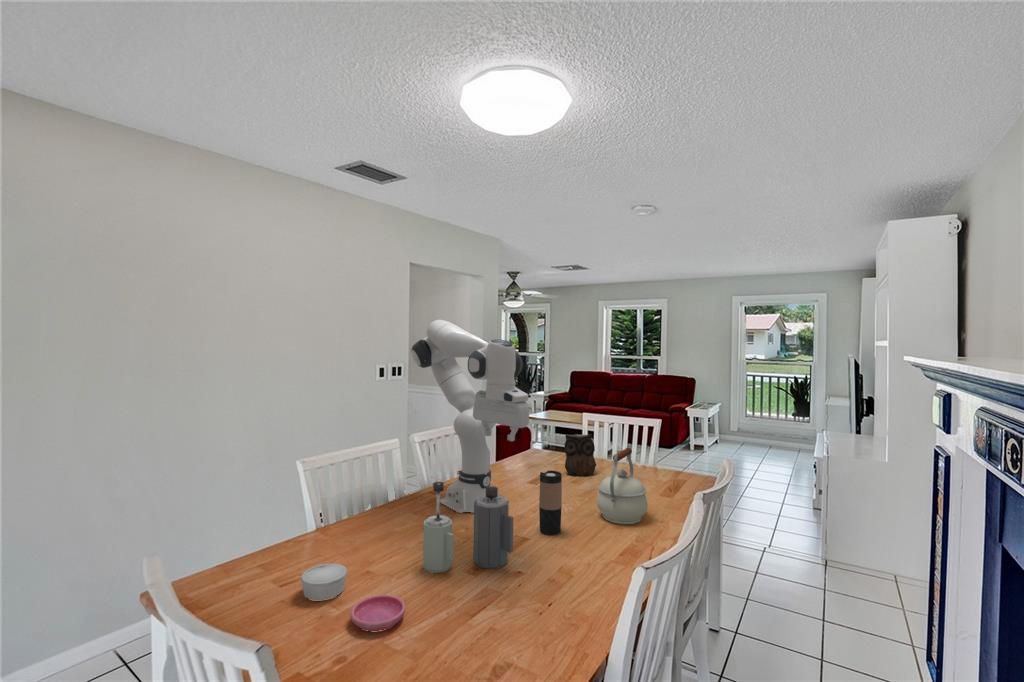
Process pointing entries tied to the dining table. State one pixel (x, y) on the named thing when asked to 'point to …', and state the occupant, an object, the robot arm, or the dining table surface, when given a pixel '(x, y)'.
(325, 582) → the ramekin
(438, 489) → the plunger small
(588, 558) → the dining table surface
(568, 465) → the owl
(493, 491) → the plunger
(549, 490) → the travel mug
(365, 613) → the saucer
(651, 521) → the dining table surface
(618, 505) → the kettle
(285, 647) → the dining table surface
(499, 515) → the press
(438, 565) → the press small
